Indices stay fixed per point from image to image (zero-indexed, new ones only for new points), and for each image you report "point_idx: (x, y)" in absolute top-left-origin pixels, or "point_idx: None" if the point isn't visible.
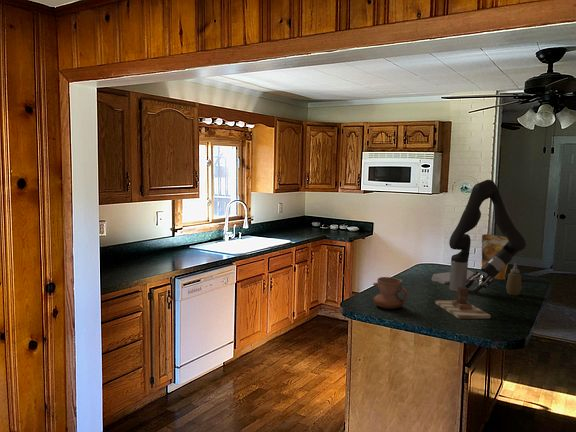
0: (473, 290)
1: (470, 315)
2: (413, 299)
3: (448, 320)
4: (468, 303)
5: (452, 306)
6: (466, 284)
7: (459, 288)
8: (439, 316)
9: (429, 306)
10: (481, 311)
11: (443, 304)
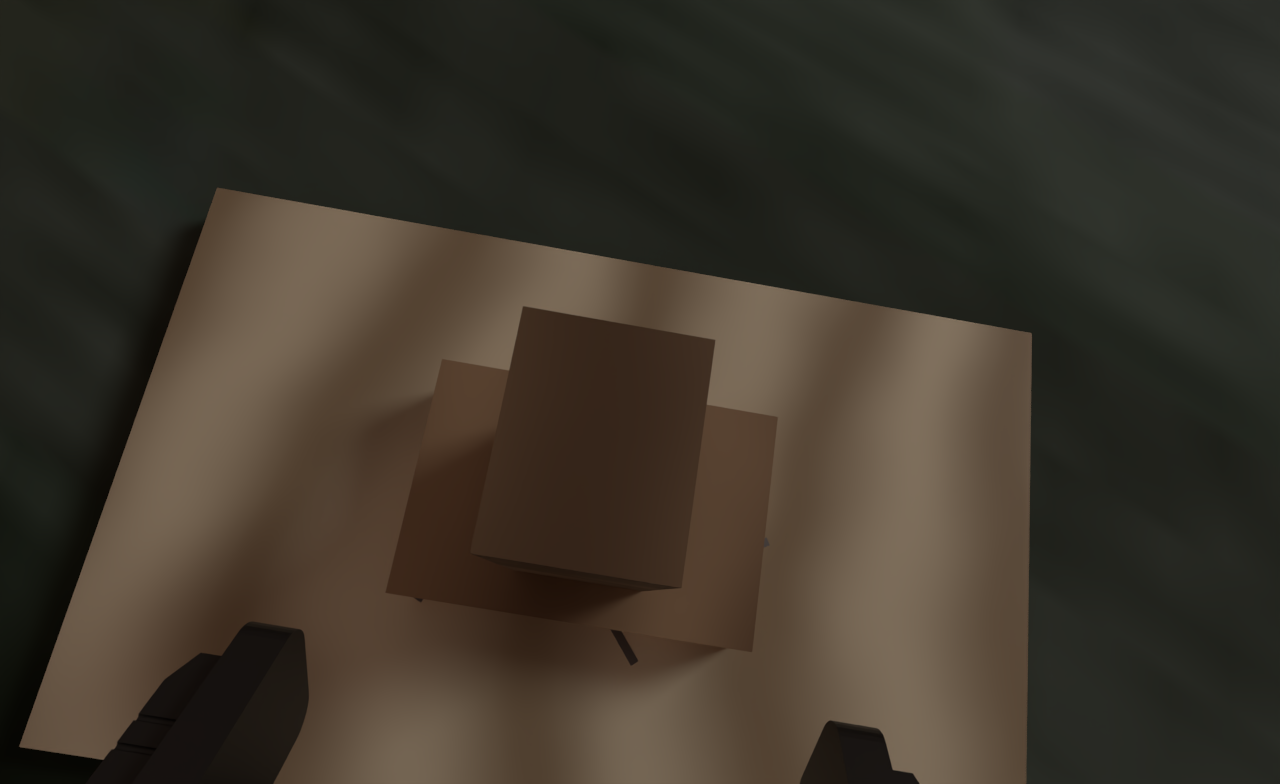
0: (273, 625)
1: (157, 361)
2: (1201, 163)
3: (230, 40)
4: (503, 599)
5: None
6: (847, 776)
7: (588, 319)
8: (413, 35)
9: (854, 174)
10: None
11: (797, 319)
